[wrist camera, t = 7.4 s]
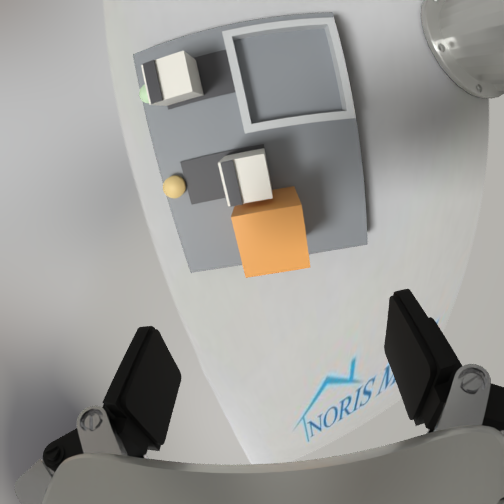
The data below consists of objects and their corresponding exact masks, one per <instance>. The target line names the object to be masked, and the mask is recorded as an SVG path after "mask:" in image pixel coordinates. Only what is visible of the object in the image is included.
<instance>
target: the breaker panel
mask: <svg viewBox="0 0 504 504" xmlns="http://www.w3.org/2000/svg"><path fill="white" fill-rule="evenodd" d="M180 51H185V52H186V53H188V54H189V55H190V56H191V57H193V58H194V59H195V60H196V62H197V67H198V71H199V76H200V80H201V85H202V89H203V94H204V95H203V96H199V97H195V98H192V99H188V100H185V101H181V102H178V103H174V104H171V105H168V106H159V105H149V101H148V96H147V92H146V87H145V82H144V78H143V73H142V68H141V65H143V63H146V62H149V61H151V60H157V59H159V58H162V57H165V56H168V55H171V54H174V53H177V52H180ZM133 58H134V63H135V68H136V73H137V78H138V83H139V88H140V92H139V95H140V99H141V100H142V101H143V106H144V110H145V115H146V119H147V123H148V127H149V131H150V135H151V140H152V143H153V147H154V151H155V155H156V159H157V163H158V166H159V170H160V174H161V177H162V181H163V191H164V193H165V194H166V195H167V199H168V202H169V206H170V209H171V212H172V216H173V219H174V222H175V225H176V229H177V232H178V235H179V238H180V241H181V245H182V248H183V251H184V254H185V257H186V260H187V263H188V266H189V269H190V272H191V273H192V272H199V271H205V270H212V269H218V268H225V267H231V266H238V265H242V261H241V257H240V252H239V248H238V244H237V240H236V236H235V232H234V228H233V224H232V220H231V215H232V212H233V209H234V206H232V207H231V206H228V204H227V200H226V196H225V192H224V187H223V183H222V179H221V175H220V170H219V166H218V162H219V161H220V160H221V159H222V158H223V157H224V156H227V155H231V154H236V153H241V152H246V151H251V150H257V149H262V148H264V149H265V154H266V159H267V164H268V170H269V175H270V180H271V185H272V190H274V189H280V188H286V187H292V186H294V187H295V190H296V192H297V194H298V197H299V199H300V202H301V204H302V210H303V217H304V224H305V231H306V238H307V246H308V253H309V254H313V253H319V252H325V251H331V250H337V249H343V248H349V247H355V246H361V245H367V218H366V201H365V188H364V177H363V167H362V157H361V149H360V141H359V134H358V127H357V120H356V114H355V108H354V102H353V96H352V91H351V86H350V81H349V76H348V71H347V66H346V62H345V58H344V53H343V49H342V45H341V41H340V37H339V33H338V30H337V26H336V22H335V19H334V16H333V12H331V13H308V14H296V15H285V16H277V17H269V18H262V19H256V20H250V21H245V22H239V23H234V24H230V25H225V26H221V27H216V28H212V29H208V30H205V31H201V32H197V33H194V34H190V35H187V36H183V37H180V38H177V39H174V40H171V41H168V42H165V43H162V44H159V45H156V46H154V47H151V48H148V49H146V50H143V51H141V52H138V53H136V54H133Z"/></svg>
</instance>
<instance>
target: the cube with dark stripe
mask: <svg viewBox="0 0 504 504" xmlns="http://www.w3.org/2000/svg"><path fill="white" fill-rule="evenodd" d="M218 166H219V170H220V175H221V179H222V183H223V187H224V192H225V196H226V200H227V204H228V206H231V207H232V206H237V205H243V204H244V203H249V202H255V201H260V200H266V199H272V198H273V195H272V185H271V180H270V175H269V170H268V164H267V159H266V154H265V149H264V148H262V149H257V150H251V151H246V152H241V153H236V154H231V155H227V156H224V157H223V158H222V159H221V160H220V161H219V162H218Z"/></svg>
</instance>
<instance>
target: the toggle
mask: <svg viewBox="0 0 504 504" xmlns="http://www.w3.org/2000/svg"><path fill="white" fill-rule="evenodd" d="M141 68H142V73H143V78H144V82H145V87H146V92H147V96H148V101H149V105H159V106H168V105H171V104H174V103H178V102H181V101H185V100H188V99H192V98H195V97H199V96H203V95H204V94H203V89H202V85H201V80H200V76H199V71H198V67H197V62H196V60H195V59H194V58H193V57H191V56H190V55H189V54H188V53H186V52H185V51H180V52H177V53H174V54H171V55H168V56H165V57H162V58H159V59H157V60H151V61H149V62H146V63H143V65H141Z"/></svg>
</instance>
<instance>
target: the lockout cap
mask: <svg viewBox="0 0 504 504" xmlns="http://www.w3.org/2000/svg"><path fill="white" fill-rule="evenodd" d="M272 195H273V198H272V199H266V200H260V201H255V202H249V203H244V204H243V205H237V206H234V209H233V212H232V215H231V220H232V224H233V228H234V232H235V236H236V240H237V244H238V248H239V252H240V257H241V261H242V265H243V269H244V273H245V277H246V278H247V277H253V276H260V275H266V274H273V273H279V272H285V271H291V270H298V269H304V268H310V261H309V253H308V246H307V238H306V231H305V224H304V217H303V210H302V204H301V202H300V199H299V197H298V194H297V192H296V190H295V187H294V186H292V187H286V188H280V189H274V190H272Z"/></svg>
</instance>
